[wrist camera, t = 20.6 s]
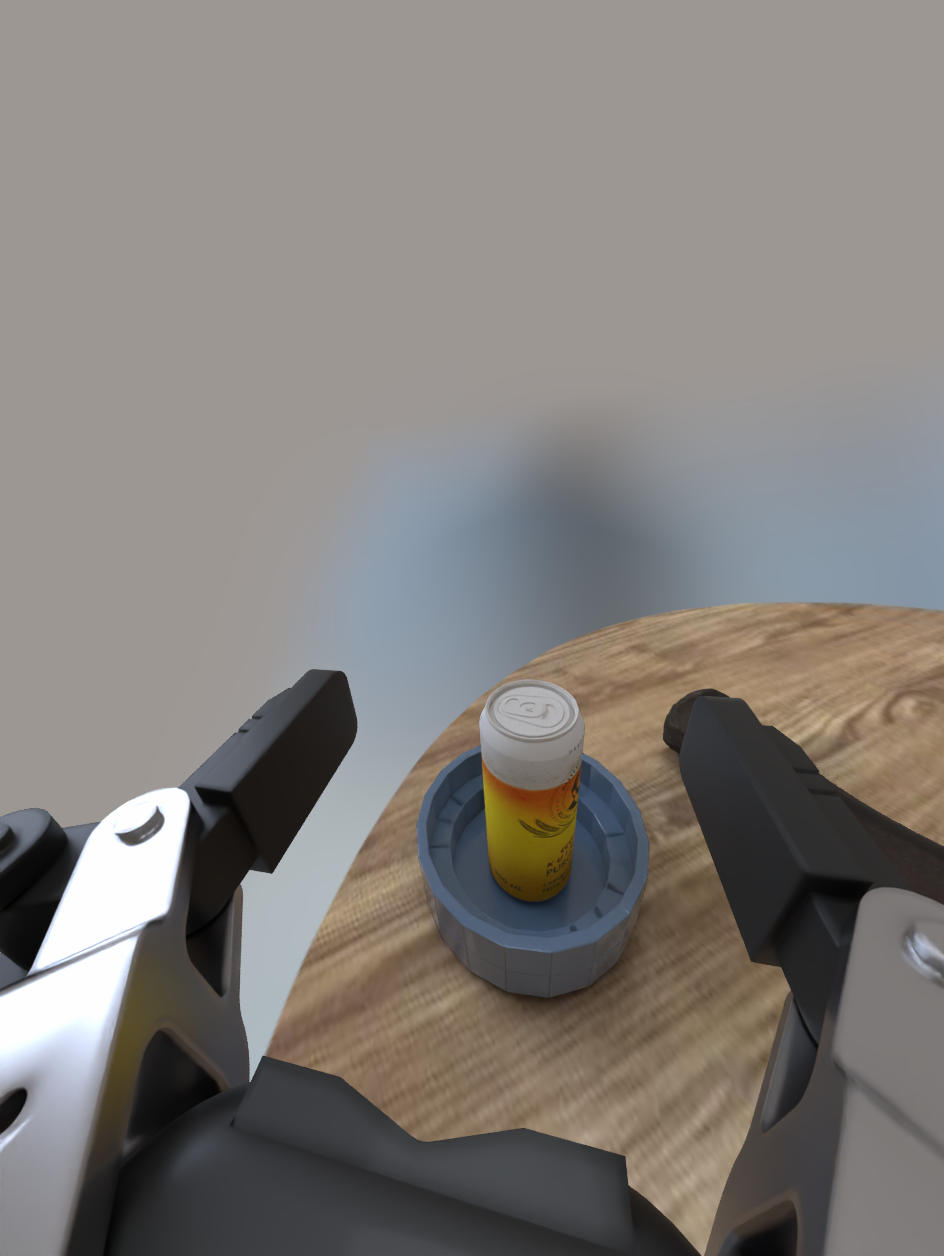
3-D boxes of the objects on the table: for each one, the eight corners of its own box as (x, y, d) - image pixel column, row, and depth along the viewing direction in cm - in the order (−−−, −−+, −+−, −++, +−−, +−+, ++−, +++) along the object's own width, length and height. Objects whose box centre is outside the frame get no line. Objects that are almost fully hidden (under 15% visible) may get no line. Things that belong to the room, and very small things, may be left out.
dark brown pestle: (1224, 1209, 16) (690, 778, 42) (1428, 1038, 14) (737, 694, 40) (1189, 1321, 12) (618, 765, 37) (1472, 1100, 10) (667, 671, 35)
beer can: (564, 921, 25) (580, 755, 18) (478, 891, 27) (463, 731, 20) (575, 838, 30) (590, 684, 23) (501, 818, 32) (495, 670, 25)
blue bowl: (385, 927, 26) (369, 876, 23) (478, 766, 38) (474, 720, 35) (622, 1065, 20) (638, 1018, 17) (642, 819, 32) (654, 768, 29)
